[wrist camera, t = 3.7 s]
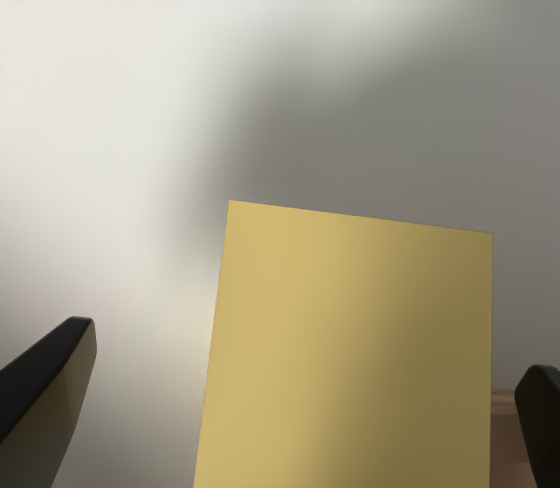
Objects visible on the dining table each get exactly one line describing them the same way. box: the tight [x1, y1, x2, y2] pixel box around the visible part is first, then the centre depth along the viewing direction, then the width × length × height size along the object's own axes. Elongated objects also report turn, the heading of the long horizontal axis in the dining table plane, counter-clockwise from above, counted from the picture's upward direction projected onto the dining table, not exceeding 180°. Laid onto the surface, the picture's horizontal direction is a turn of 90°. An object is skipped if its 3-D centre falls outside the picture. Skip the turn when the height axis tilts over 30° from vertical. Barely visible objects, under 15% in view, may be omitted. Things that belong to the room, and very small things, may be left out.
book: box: [193, 200, 493, 488], centre depth 12 cm, size 4×6×11 cm
